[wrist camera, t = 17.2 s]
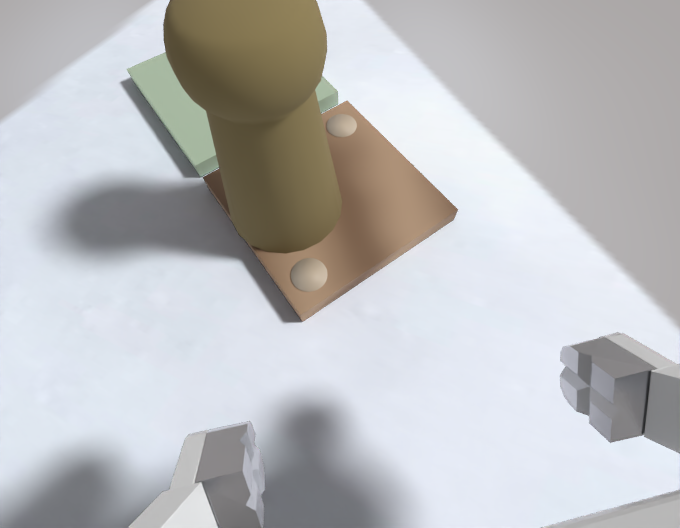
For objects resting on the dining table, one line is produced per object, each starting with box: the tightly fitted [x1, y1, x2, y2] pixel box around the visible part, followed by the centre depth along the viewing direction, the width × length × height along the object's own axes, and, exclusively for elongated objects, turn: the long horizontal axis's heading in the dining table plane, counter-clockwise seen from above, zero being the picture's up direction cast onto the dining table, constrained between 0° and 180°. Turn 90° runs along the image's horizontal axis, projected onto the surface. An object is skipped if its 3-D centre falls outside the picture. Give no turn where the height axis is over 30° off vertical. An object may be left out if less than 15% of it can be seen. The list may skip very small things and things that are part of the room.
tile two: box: [203, 101, 458, 322], centre depth 22 cm, size 10×10×1 cm
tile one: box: [127, 52, 338, 177], centre depth 26 cm, size 10×10×1 cm
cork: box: [163, 0, 342, 254], centre depth 17 cm, size 6×6×11 cm
